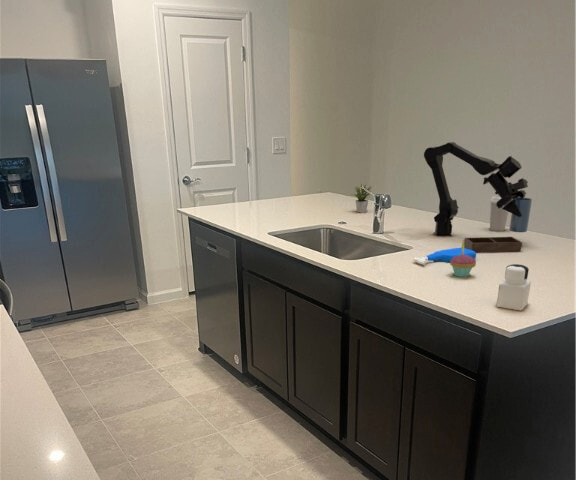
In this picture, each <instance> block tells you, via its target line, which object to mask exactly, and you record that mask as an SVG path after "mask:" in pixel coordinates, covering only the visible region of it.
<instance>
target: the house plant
mask: <svg viewBox="0 0 576 480" xmlns="http://www.w3.org/2000/svg"><path fill="white" fill-rule="evenodd" d="M353 186H354V187H353V189H354V190H355V192H356V193H352V194H351V195H354V196H355V197H356V198H357V199H356V200H355V207H356V212H357V213H359V214H363V213H367V210H368V204H369V200H368V199H367V197H369V196H371V193H370V192H366V191H365V190H368V191H370V190H372V188H373V185H370V186H369V187H368V188H367V183H366V182H365V183H364V185H363V184H362V182H361V181H360V187H358V186H357V185H355V184H353ZM361 187H364V188H366V189H365V190H364V189H362V188H361Z"/></svg>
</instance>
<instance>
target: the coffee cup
mask: <svg viewBox="0 0 576 480" xmlns="http://www.w3.org/2000/svg"><path fill="white" fill-rule="evenodd" d="M500 199H501V197H500V196H499V195H495V196H491V198H490V200H489V203H490V212H489V213H490V214H489V230H490V231H492V232H504V231H505V230H506V225H507V221H508V216H509V212H508V211H506V210H504V209H502V208H503V207H504V205H503V206H502V208H500V209H499V208H498V207H497V206H496V203H497V202H498V201H499V200H500Z"/></svg>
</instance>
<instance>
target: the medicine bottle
mask: <svg viewBox="0 0 576 480" xmlns="http://www.w3.org/2000/svg"><path fill="white" fill-rule="evenodd" d="M529 271H530V270H529V267H527V266H526V265H524V264H517V263H515V264H509V265H507V266H506V267H505V273H504V279H503V280H502V281H501V282H500V283H499V284H498V292H497V300H496V308H503V309H510V310H515V311H523V310H524V308H525V307H526V306H527V305H528V303H529V295H530V291H531V285H532V284H531V282H532V281H531V280H528V276H529Z"/></svg>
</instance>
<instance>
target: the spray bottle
mask: <svg viewBox="0 0 576 480" xmlns="http://www.w3.org/2000/svg"><path fill="white" fill-rule="evenodd" d="M457 255H462V247H453V248H447V249H441V250H437V251H434V252H433V253H430V254H428V255H425V256H421V257H420V256H419V257H415V256H414V257H413V262H415V263H417V264H419V265H423V266H425V265H426V264H428V263H434V262H437V261H440V262H445V263H450V262H451V259H452V258H454V257H455V256H457ZM464 255H467V256H471V257H472V258H473V259H474V260H476V258H477V253H475V251H472V250H469V249H466V248H465V247H464Z"/></svg>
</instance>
